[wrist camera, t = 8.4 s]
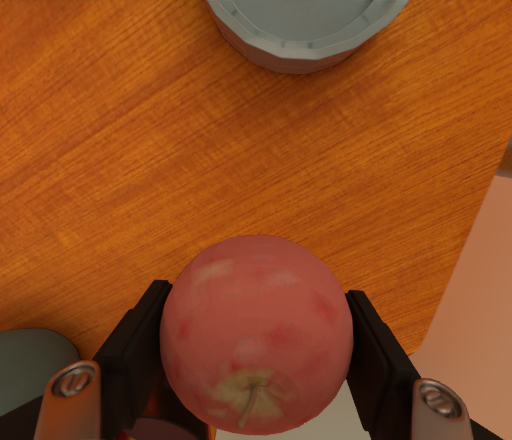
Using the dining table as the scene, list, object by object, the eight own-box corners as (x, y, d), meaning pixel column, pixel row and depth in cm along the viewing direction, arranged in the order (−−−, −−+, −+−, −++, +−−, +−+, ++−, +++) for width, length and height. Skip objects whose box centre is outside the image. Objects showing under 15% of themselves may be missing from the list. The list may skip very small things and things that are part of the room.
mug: (209, 265, 27) (172, 362, 16) (238, 361, 32) (225, 488, 20) (126, 280, 28) (34, 381, 17) (165, 370, 33) (114, 498, 21)
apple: (191, 319, 16) (124, 497, 8) (193, 204, 13) (101, 307, 6) (309, 330, 16) (355, 517, 8) (335, 220, 13) (434, 341, 6)
